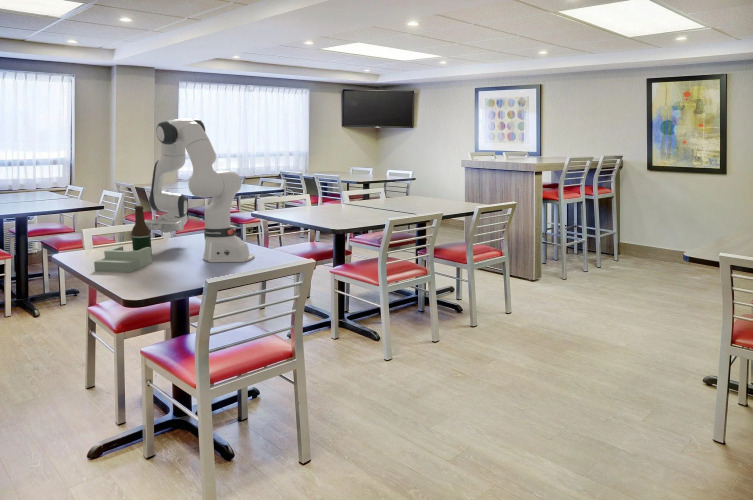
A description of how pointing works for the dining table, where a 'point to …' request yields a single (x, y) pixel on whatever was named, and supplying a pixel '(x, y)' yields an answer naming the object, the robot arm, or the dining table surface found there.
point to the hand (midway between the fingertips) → (152, 228)
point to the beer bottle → (140, 231)
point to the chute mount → (123, 260)
